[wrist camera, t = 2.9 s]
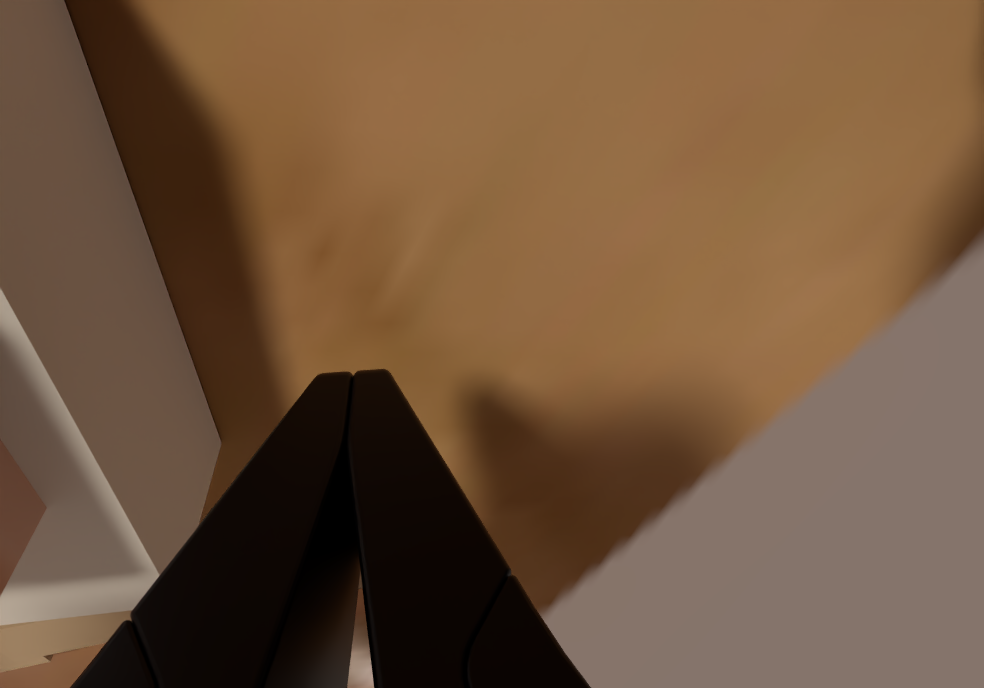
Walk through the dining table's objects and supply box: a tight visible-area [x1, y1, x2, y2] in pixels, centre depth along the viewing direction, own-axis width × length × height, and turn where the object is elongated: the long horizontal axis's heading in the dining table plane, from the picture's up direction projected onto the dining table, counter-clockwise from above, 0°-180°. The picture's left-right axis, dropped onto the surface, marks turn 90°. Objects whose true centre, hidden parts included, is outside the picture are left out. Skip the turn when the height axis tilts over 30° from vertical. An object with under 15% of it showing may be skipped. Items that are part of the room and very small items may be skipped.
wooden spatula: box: [0, 571, 362, 672], centre depth 17 cm, size 15×4×1 cm, turn 98°
